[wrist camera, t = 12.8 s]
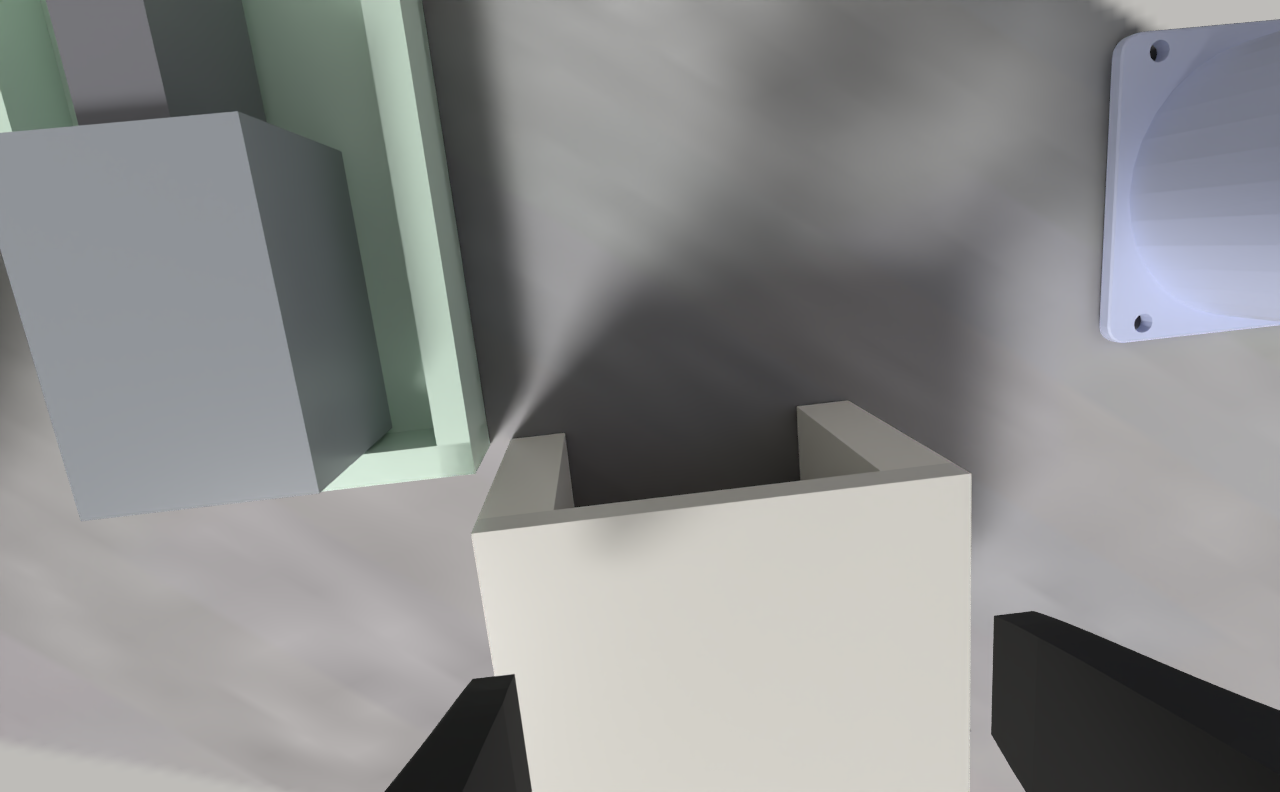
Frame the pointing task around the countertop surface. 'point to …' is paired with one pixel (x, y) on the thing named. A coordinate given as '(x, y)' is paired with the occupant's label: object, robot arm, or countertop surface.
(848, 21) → the countertop surface
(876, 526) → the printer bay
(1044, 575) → the countertop surface
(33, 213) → the grey bottle-shaped block
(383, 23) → the tray
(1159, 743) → the robot arm
